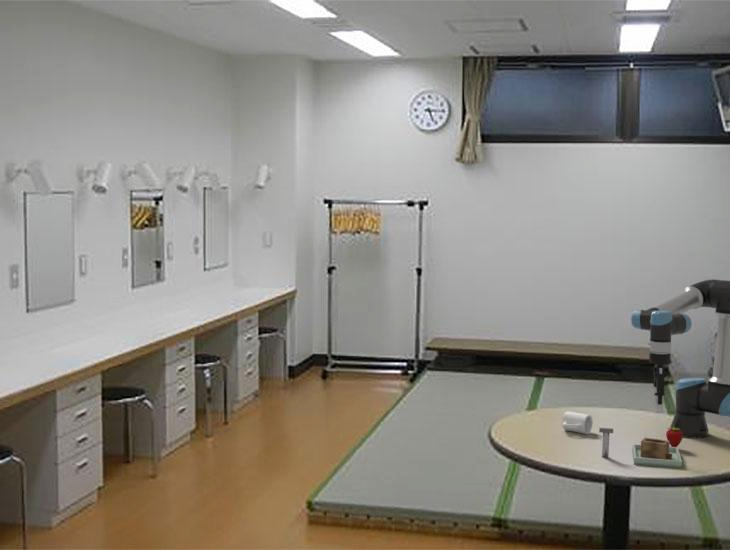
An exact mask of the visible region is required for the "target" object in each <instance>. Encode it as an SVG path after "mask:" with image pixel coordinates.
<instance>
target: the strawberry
mask: <svg viewBox="0 0 730 550" xmlns="http://www.w3.org/2000/svg"><path fill="white" fill-rule="evenodd" d="M673 425H674V424H673ZM666 429H667V431H666V434H665V436H666V441H670V443H669V446H670V447H677V448H678V446H679V445H680V444H681V442H682V440H683V438H684V437H683V435H682V433H681V431H679V430H680V428H675V426H674V427H673V428H670V427H667V428H666Z"/></svg>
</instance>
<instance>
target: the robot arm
mask: <svg viewBox="0 0 730 550" xmlns="http://www.w3.org/2000/svg"><path fill="white" fill-rule="evenodd" d="M700 308H712V309H715V311H714V313H715V315H716V316H717V317H718V322H717V323H718V324H717V332H716V339H715V340H716V342H715V343H716V344H715V351H714V361H713V368H712V376H711V377H710V378H709V379H708V380H707V379H706V378H705V377H704V378H703V377H688V378H687V377H686V378H680V379H678V380H677V381H676V388H675V409H674V416H673V418H672V422H671V423H670V426H669V428H673V427H674V426H675V428H680V430H679V431H681V433H682V435H683V438H690V437H696V438H695V439H699V438H698V437H702V438H707V437H708V436H709V426H708V422H707V420H706V413H708V414H713V415H719V416H721V417H728V418H730V280H725V279H714V278H713V279H706V280H703V281H702V280H701V281H699V282H696V283H693V284H691V285H689V286H686V287H685V288H684V289H683V290H682V292H680V293H679V294H676V295H674V296H672V297H670V298H669V299H666V300H664V301H662V302H660V303H658V304H655V305H654V306H651V307H650V308H647V309H635V310H634V311H633V312H632V314H631V318H630V320H631V321H630V322H631V326H632V327H633V328H635V329H639V330H642V331H649V333H650V334H649V335H650V336H649V342H648V344H647V345H648V346H649V351H650V352H649V354H648V355H649V357H648V361H649V363H650V364H654V366H653V382H652V383H653V391H652V392H653V393H652V405H655V410H654V411H655V414H664V402H665V399H664V398H665V376H666V368H665V367H664V365H669V364H670V363H671V351H672V336H675V335H683V334H685V333H687V332H689V331H690V330H691V329H692V325H693V324H692V319H691V317H690V316H689V315H687V314H685V313H686V312H688V311H690V310H697V309H700ZM673 424H674V425H673Z"/></svg>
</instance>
